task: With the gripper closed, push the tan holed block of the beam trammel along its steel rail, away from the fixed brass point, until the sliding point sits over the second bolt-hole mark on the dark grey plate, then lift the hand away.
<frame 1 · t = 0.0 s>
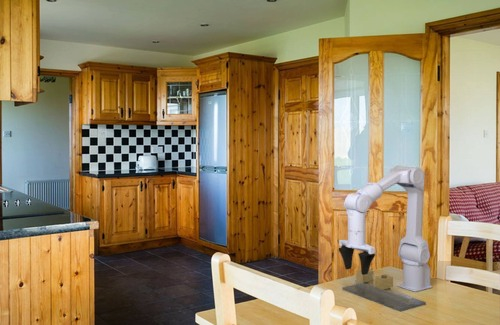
hand: (356, 271, 158), 10 cm above the table, tool pointing down, fingers open, 7 cm apart
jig: (382, 296, 163), on the table
tan holed block: (384, 284, 164), point 4 cm above the table, slide at 0.0 cm
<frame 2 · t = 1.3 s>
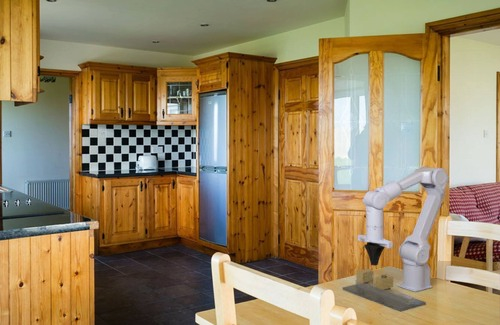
hand: (374, 264, 167), 10 cm above the table, tool pointing down, fingers closed
nothing on the table moved.
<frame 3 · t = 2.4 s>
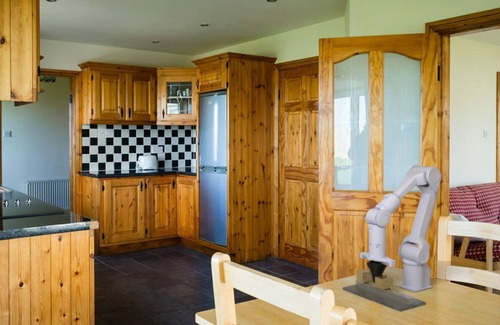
hand: (376, 282, 166), 4 cm above the table, tool pointing down, fingers closed
tan holed block: (384, 284, 164), point 4 cm above the table, slide at 0.0 cm, touching gripper
everything else where it was.
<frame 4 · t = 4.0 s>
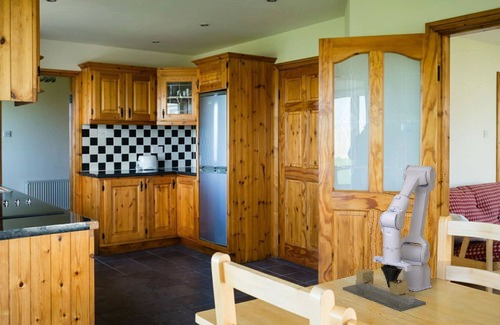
hand: (391, 287, 160), 4 cm above the table, tool pointing down, fingers closed
tan holed block: (399, 289, 158), point 4 cm above the table, slide at 6.4 cm, touching gripper
everything else where it was.
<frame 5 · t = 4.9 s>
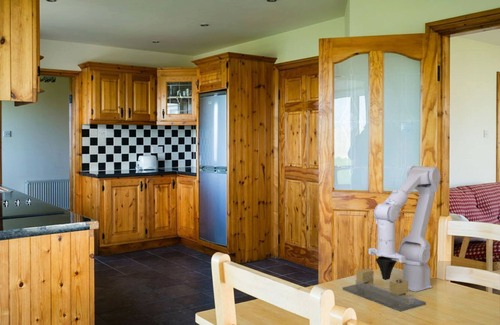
hand: (386, 279, 162), 6 cm above the table, tool pointing down, fingers closed
tan holed block: (399, 289, 158), point 4 cm above the table, slide at 6.4 cm
everything else where it was.
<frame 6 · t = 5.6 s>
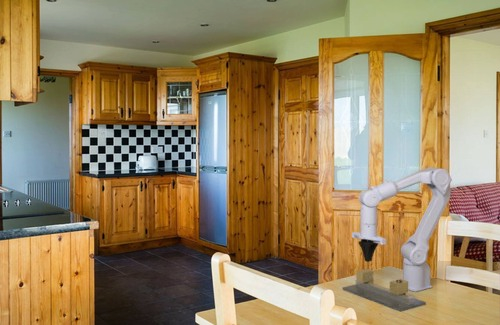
hand: (368, 261, 172), 10 cm above the table, tool pointing down, fingers closed
nothing on the table moved.
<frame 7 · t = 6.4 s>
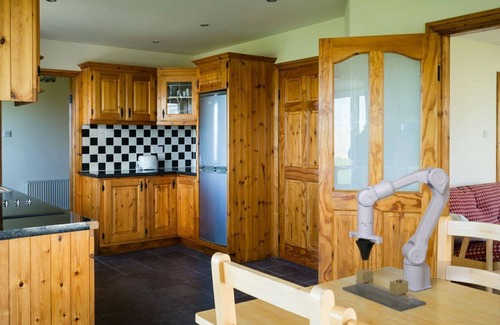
hand: (365, 259, 174), 10 cm above the table, tool pointing down, fingers closed
nothing on the table moved.
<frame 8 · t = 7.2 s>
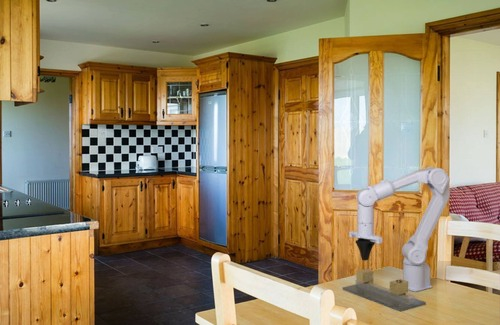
hand: (365, 259, 174), 10 cm above the table, tool pointing down, fingers closed
nothing on the table moved.
at the end: tan holed block slide at 6.4 cm; tan holed block touching nothing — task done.
